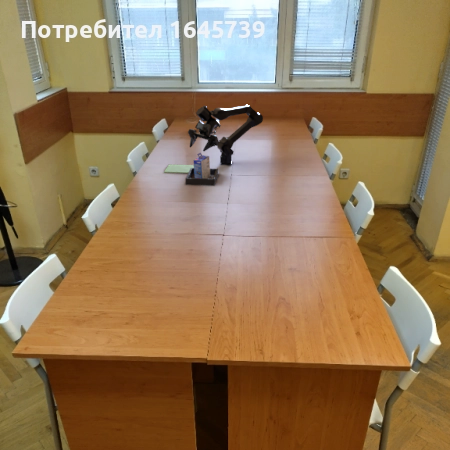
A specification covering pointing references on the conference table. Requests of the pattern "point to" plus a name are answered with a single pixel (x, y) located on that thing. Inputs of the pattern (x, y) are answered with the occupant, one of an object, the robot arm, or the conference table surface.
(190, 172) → the black square frame
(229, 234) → the conference table surface
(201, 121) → the tablet mount
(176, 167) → the mat
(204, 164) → the ink cartridge box
